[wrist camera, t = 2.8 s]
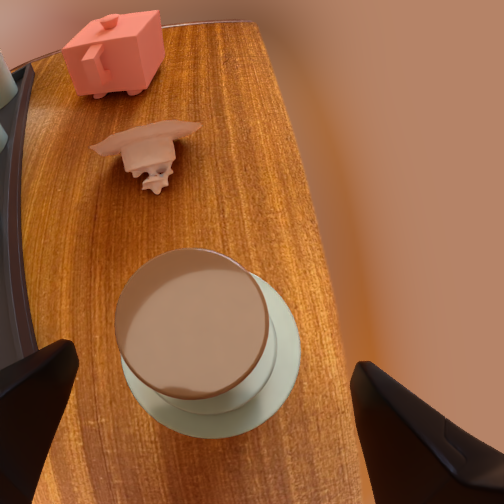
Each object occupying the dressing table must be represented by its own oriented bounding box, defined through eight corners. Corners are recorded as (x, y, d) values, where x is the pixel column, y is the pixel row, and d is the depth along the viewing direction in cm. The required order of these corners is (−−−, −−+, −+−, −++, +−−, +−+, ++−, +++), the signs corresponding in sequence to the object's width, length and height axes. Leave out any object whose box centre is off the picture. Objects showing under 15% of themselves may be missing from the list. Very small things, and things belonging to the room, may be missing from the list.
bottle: (260, 419, 15) (323, 493, 4) (168, 401, 15) (28, 417, 4) (274, 331, 17) (352, 210, 6) (185, 315, 18) (104, 173, 6)
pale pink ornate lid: (150, 207, 25) (67, 196, 18) (150, 149, 25) (73, 126, 18) (230, 187, 21) (139, 161, 14) (225, 119, 21) (144, 75, 14)
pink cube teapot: (173, 50, 30) (167, -9, 22) (142, 110, 25) (124, 34, 17) (114, 56, 30) (102, 1, 22) (72, 116, 25) (46, 51, 17)
